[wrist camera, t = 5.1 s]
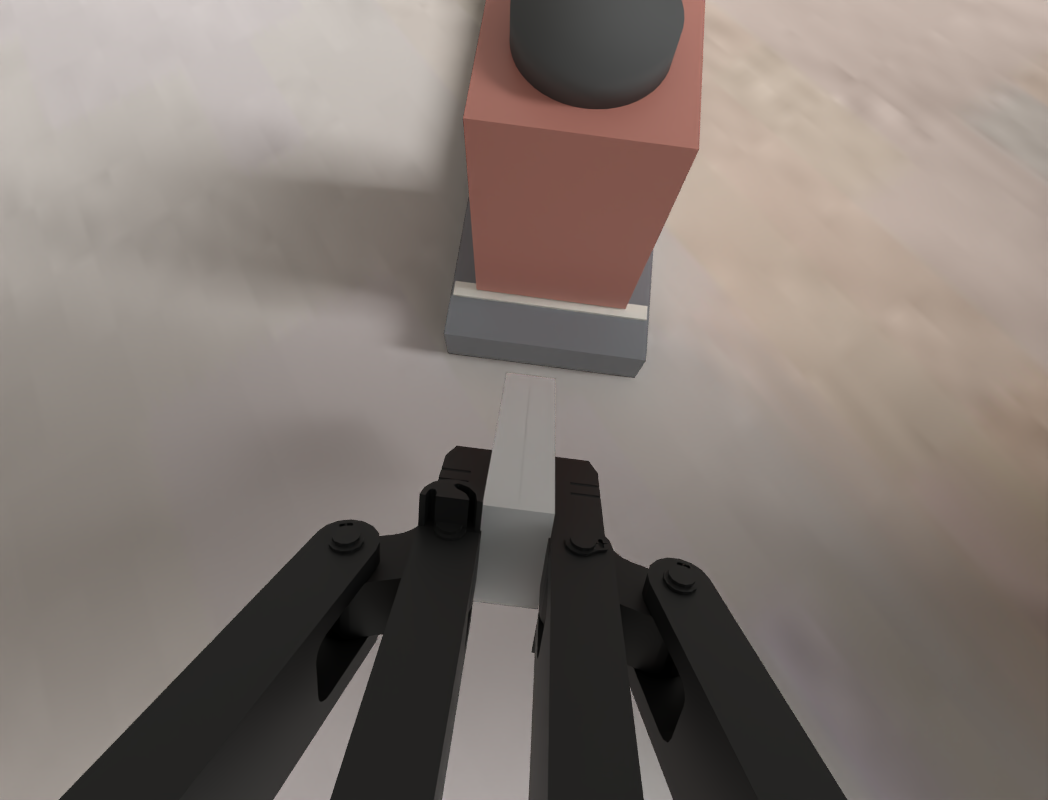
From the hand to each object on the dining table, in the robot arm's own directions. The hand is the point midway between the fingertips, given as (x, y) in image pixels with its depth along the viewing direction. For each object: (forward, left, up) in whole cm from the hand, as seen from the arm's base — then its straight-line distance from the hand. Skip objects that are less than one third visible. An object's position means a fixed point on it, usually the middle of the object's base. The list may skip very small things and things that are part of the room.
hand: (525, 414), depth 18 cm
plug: (-8, -4, -3) cm, 10 cm away
